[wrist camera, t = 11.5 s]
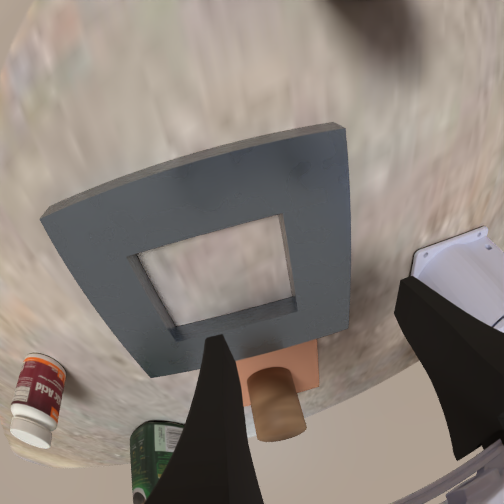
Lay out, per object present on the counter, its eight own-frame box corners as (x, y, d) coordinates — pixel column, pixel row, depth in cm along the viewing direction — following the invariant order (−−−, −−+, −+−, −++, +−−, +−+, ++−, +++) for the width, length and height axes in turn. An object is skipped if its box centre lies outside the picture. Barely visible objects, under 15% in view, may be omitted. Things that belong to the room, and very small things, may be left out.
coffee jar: (174, 445, 37) (186, 555, 22) (124, 435, 34) (129, 553, 19) (205, 425, 34) (226, 557, 19) (147, 414, 30) (157, 561, 15)
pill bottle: (75, 376, 24) (64, 451, 17) (46, 380, 24) (34, 449, 18) (44, 348, 21) (25, 428, 15) (17, 354, 21) (-3, 426, 15)
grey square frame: (333, 122, 15) (345, 128, 14) (341, 315, 25) (348, 328, 23) (49, 206, 15) (39, 218, 13) (151, 363, 24) (150, 378, 23)
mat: (314, 331, 25) (316, 335, 25) (317, 382, 31) (319, 386, 31) (202, 360, 25) (203, 365, 24) (231, 405, 31) (232, 409, 30)
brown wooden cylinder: (288, 362, 26) (304, 419, 21) (293, 382, 29) (308, 433, 24) (241, 374, 26) (252, 432, 21) (252, 393, 29) (262, 444, 24)
